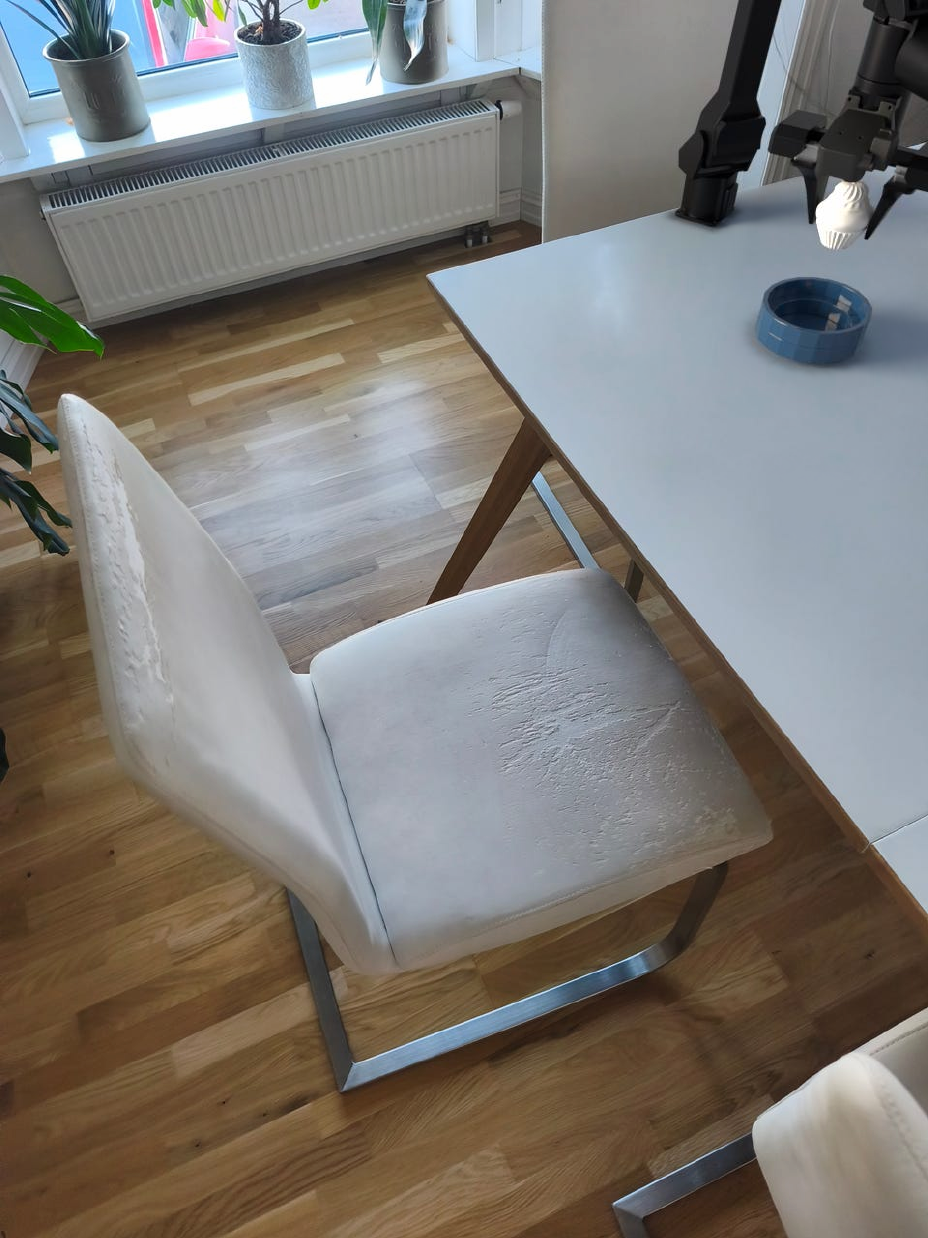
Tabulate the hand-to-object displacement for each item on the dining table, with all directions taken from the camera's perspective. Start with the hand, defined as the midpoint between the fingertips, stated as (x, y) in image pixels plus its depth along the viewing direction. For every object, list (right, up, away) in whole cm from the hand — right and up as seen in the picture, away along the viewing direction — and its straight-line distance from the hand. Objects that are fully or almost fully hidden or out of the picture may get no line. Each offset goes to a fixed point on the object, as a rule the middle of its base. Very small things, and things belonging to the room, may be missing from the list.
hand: (839, 230), depth 96 cm
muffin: (0, -1, +1) cm, 2 cm away
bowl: (-1, -10, +7) cm, 12 cm away
